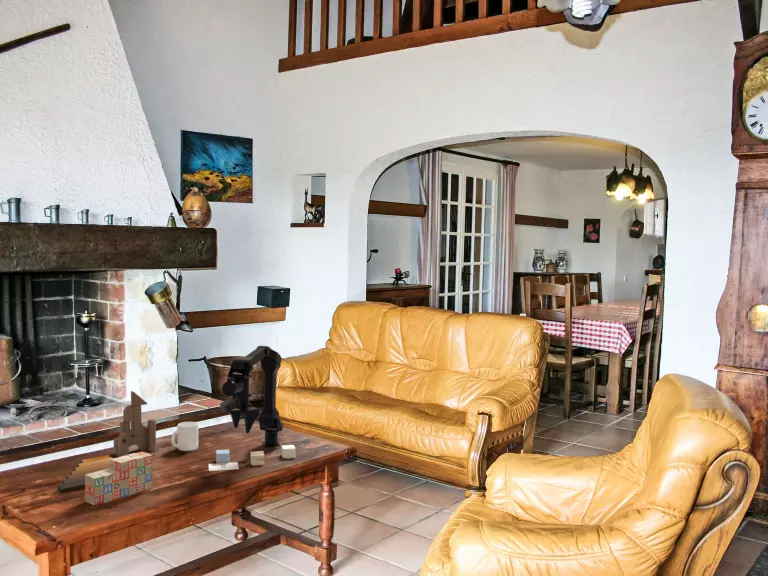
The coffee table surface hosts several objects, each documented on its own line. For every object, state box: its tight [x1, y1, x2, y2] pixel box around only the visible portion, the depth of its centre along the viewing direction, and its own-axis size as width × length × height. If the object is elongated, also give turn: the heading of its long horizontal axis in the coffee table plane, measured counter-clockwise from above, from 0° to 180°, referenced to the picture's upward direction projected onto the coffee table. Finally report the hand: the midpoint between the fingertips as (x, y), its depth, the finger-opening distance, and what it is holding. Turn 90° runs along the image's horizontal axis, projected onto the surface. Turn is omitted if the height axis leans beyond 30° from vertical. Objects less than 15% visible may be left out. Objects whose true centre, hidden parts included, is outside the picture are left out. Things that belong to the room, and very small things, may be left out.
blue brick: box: [215, 449, 231, 464], centre depth 270 cm, size 5×5×4 cm
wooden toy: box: [113, 390, 157, 457], centre depth 278 cm, size 16×7×25 cm, turn 133°
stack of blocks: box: [84, 451, 154, 507], centre depth 232 cm, size 21×6×12 cm, turn 142°
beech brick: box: [249, 450, 265, 466], centre depth 268 cm, size 5×5×4 cm
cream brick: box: [281, 444, 297, 459], centre depth 277 cm, size 5×5×4 cm
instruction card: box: [208, 461, 240, 472], centre depth 263 cm, size 8×11×1 cm
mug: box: [170, 421, 199, 452], centre depth 284 cm, size 12×8×10 cm
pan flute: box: [57, 454, 114, 494], centre depth 250 cm, size 25×3×25 cm
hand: (241, 430), depth 268 cm, fingers open, 9 cm apart
